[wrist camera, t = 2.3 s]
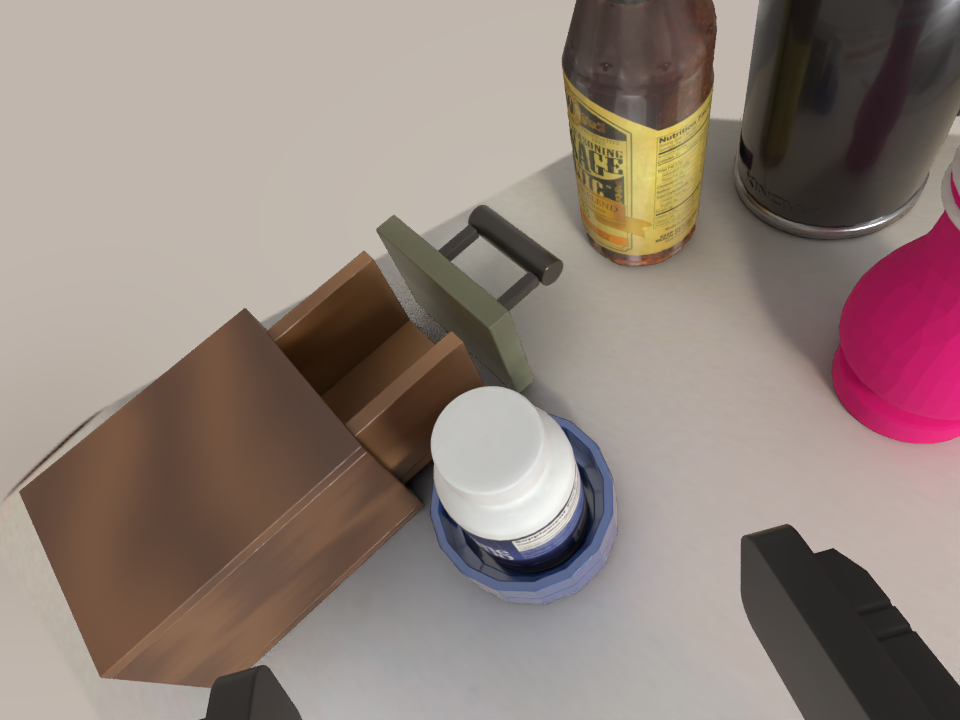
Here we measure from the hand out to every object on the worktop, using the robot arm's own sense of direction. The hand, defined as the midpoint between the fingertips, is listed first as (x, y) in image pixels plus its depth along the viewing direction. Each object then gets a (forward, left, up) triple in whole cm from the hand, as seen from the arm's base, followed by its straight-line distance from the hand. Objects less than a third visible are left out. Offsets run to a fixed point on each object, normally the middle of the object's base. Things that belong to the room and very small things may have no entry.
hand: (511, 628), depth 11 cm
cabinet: (+7, -16, -19) cm, 26 cm away
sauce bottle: (-18, -15, -19) cm, 30 cm away
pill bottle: (-3, -7, -19) cm, 20 cm away
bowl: (-3, -7, -19) cm, 21 cm away
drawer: (-4, -16, -18) cm, 25 cm away
